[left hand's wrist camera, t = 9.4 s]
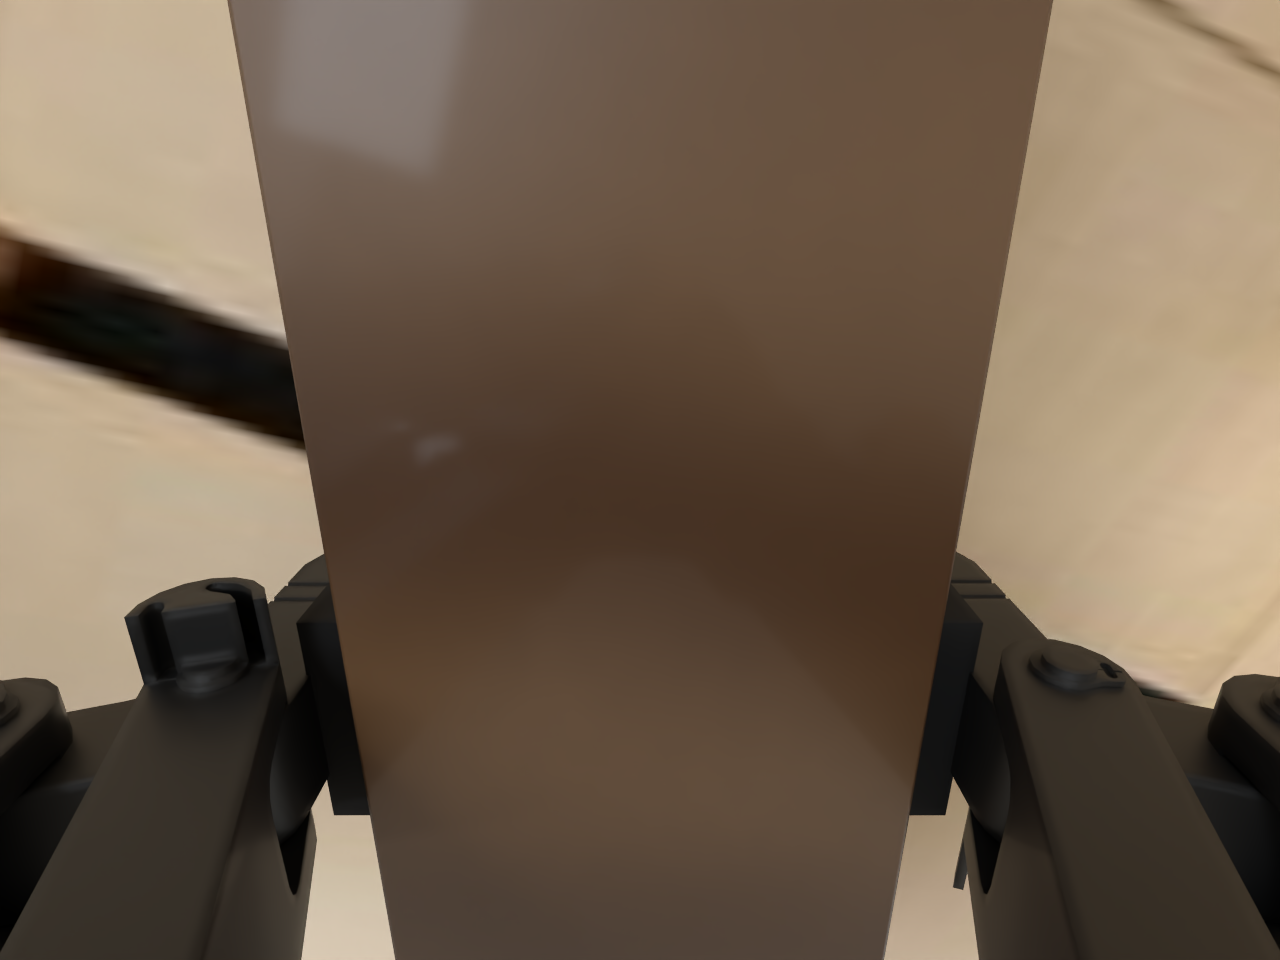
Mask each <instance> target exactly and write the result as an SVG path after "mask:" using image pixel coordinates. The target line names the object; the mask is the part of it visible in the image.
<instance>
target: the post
mask: <svg viewBox="0 0 1280 960" xmlns="http://www.w3.org/2000/svg"><path fill="white" fill-rule="evenodd" d="M1052 3H1053V0H228V6H229V12H230V18H231V23H232V29H233V35H234V40H235V46H236V52H237V58H238V63H239V69H240V75H241V80H242V86H243V92H244V98H245V103H246V109H247V115H248V120H249V126H250V132H251V138H252V143H253V149H254V155H255V160H256V166H257V172H258V177H259V183H260V189H261V195H262V200H263V206H264V212H265V217H266V223H267V229H268V235H269V240H270V246H271V252H272V257H273V263H274V269H275V275H276V280H277V286H278V292H279V297H280V303H281V309H282V315H283V320H284V326H285V332H286V337H287V343H288V349H289V355H290V360H291V366H292V372H293V377H294V383H295V389H296V394H297V400H298V406H299V412H300V417H301V423H302V429H303V434H304V440H305V446H306V452H307V457H308V463H309V469H310V474H311V480H312V486H313V492H314V497H315V503H316V509H317V514H318V520H319V526H320V532H321V537H322V543H323V549H324V554H325V560H326V566H327V571H328V577H329V583H330V589H331V594H332V600H333V606H334V611H335V617H336V623H337V629H338V634H339V640H340V646H341V651H342V657H343V663H344V669H345V674H346V680H347V686H348V691H349V697H350V703H351V709H352V714H353V720H354V726H355V731H356V737H357V743H358V749H359V754H360V760H361V766H362V771H363V777H364V783H365V788H366V794H367V800H368V806H369V811H370V817H371V823H372V828H373V834H374V840H375V846H376V851H377V857H378V863H379V868H380V874H381V880H382V886H383V891H384V897H385V903H386V908H387V914H388V920H389V926H390V931H391V937H392V943H393V948H394V954H395V960H884V956H885V950H886V945H887V939H888V933H889V928H890V922H891V916H892V911H893V905H894V899H895V894H896V888H897V882H898V877H899V871H900V865H901V860H902V854H903V848H904V843H905V837H906V831H907V826H908V820H909V814H910V809H911V803H912V797H913V792H914V786H915V780H916V774H917V769H918V763H919V757H920V752H921V746H922V740H923V735H924V729H925V723H926V718H927V712H928V706H929V701H930V695H931V689H932V684H933V678H934V672H935V667H936V661H937V655H938V650H939V644H940V638H941V633H942V627H943V621H944V616H945V610H946V604H947V599H948V593H949V587H950V582H951V576H952V570H953V565H954V559H955V553H956V548H957V542H958V536H959V531H960V525H961V519H962V514H963V508H964V502H965V497H966V491H967V485H968V480H969V474H970V468H971V463H972V457H973V451H974V446H975V440H976V434H977V429H978V423H979V417H980V412H981V406H982V400H983V394H984V389H985V383H986V377H987V372H988V366H989V360H990V355H991V349H992V343H993V338H994V332H995V326H996V321H997V315H998V309H999V304H1000V298H1001V292H1002V287H1003V281H1004V275H1005V270H1006V264H1007V258H1008V253H1009V247H1010V241H1011V236H1012V230H1013V224H1014V219H1015V213H1016V207H1017V202H1018V196H1019V190H1020V185H1021V179H1022V173H1023V168H1024V162H1025V156H1026V151H1027V145H1028V139H1029V134H1030V128H1031V122H1032V117H1033V111H1034V105H1035V100H1036V94H1037V88H1038V83H1039V77H1040V71H1041V66H1042V60H1043V54H1044V49H1045V43H1046V37H1047V32H1048V26H1049V20H1050V14H1051V9H1052Z"/></svg>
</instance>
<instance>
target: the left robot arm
mask: <svg viewBox="0 0 1280 960" xmlns="http://www.w3.org/2000/svg"><path fill="white" fill-rule="evenodd" d="M124 618H125V622H126V625H127V628H128V632H129V635H130V638H131V642H132V645H133V648H134V652H135V655H136V659H137V662H138V665H139V669H140V672H141V675H142V679H143V682H144V685H143V687H142V689H141V691H140V693H139V695H138V696H137V698H136V699H133V700H129V701H124V702H119V703H114V704H109V705H103V706H98V707H93V708H87V709H82V710H77V711H72V712H66V709H65V706H64V704H63V701H62V698H61V695H60V692H59V689H58V687H57V686H55V685H54V684H52V683H51V682H49V681H48V680H46V679H35V678H19V679H11V680H4V681H1V680H0V960H301V957H302V949H303V942H304V934H305V926H306V919H307V911H308V904H309V896H310V888H311V881H312V873H313V866H314V858H315V850H316V843H317V837H316V831H315V824H314V820H313V815H312V810H311V807H312V806H313V804H314V802H315V800H316V798H317V796H318V795H319V793H320V791H321V789H322V787H323V785H324V784H325V782H326V780H327V782H328V787H329V792H330V797H331V802H332V807H333V812H334V815H370V811H369V806H368V800H367V794H366V788H365V783H364V777H363V771H362V766H361V760H360V754H359V749H358V743H357V737H356V731H355V726H354V720H353V714H352V709H351V703H350V697H349V691H348V686H347V680H346V674H345V669H344V663H343V657H342V651H341V646H340V640H339V634H338V629H337V623H336V617H335V611H334V606H333V600H332V594H331V589H330V583H329V577H328V571H327V566H326V560H325V554H323V555H321V556H319V557H318V558H316V559H314V560H312V561H311V562H309V563H307V564H305V565H304V566H303V567H302V568H301V569H300V571H299V572H298V573H297V574H296V575H295V576H294V577H293V578H292V579H291V580H290V581H289V582H288V586H285V587H284V588H283V589H282V590H281V591H280V592H279V593H278V594H277V595H276V596H275V597H274V601H271V602H270V603H269V604H268V603H267V599H266V594H265V589H264V587H263V586H261V585H260V584H258V583H257V582H255V581H253V580H248V579H242V578H236V577H232V578H212V579H206V580H202V581H197V582H192V583H187V584H183V585H180V586H177V587H175V588H172V589H169V590H166V591H163V592H160V593H158V594H156V595H155V596H153V597H151V598H149V599H147V600H145V601H144V602H142V603H140V604H138V605H137V606H136V607H135V608H134V609H133V610H132V611H131V612H130V613H129V614H127V615H126V616H125V617H124ZM953 777H954V779H955V781H956V783H957V785H958V787H959V788H960V790H961V792H962V794H963V796H964V797H965V799H966V801H967V803H968V805H969V810H968V815H967V820H966V824H965V829H964V834H963V839H962V843H961V848H960V853H959V857H958V862H957V867H956V872H955V878H954V884H953V887H954V888H958V889H962V890H963V888H964V884H965V879H966V875H967V874H968V879H969V887H970V894H971V902H972V909H973V917H974V924H975V932H976V940H977V947H978V955H979V960H1280V677H1273V676H1266V675H1258V674H1251V675H1240V676H1233V677H1232V678H1230V679H1229V680H1227V681H1226V682H1224V683H1223V684H1222V687H1221V690H1220V693H1219V695H1218V698H1217V701H1216V704H1215V707H1214V709H1210V708H1205V707H1200V706H1194V705H1189V704H1184V703H1178V702H1173V701H1168V700H1162V699H1157V698H1152V697H1148V696H1144V695H1142V693H1141V691H1140V690H1139V688H1138V686H1137V684H1136V683H1135V681H1134V680H1133V679H1132V678H1131V677H1130V676H1129V674H1128V673H1127V672H1126V671H1125V670H1124V669H1123V668H1122V667H1120V666H1118V665H1117V664H1115V663H1114V662H1112V661H1111V660H1109V659H1108V658H1106V657H1105V656H1103V655H1100V654H1098V653H1096V652H1093V651H1091V650H1088V649H1086V648H1084V647H1081V646H1078V645H1074V644H1070V643H1066V642H1062V641H1057V640H1051V639H1047V638H1046V637H1045V636H1044V635H1043V634H1042V633H1041V632H1040V631H1039V630H1038V629H1037V628H1036V627H1035V626H1034V625H1033V624H1032V622H1031V621H1030V620H1029V619H1028V618H1027V617H1026V616H1025V615H1024V614H1023V613H1022V612H1021V611H1020V610H1019V609H1018V608H1017V607H1016V605H1015V604H1014V603H1013V602H1012V601H1011V600H1010V599H1006V597H1005V594H1004V593H1003V592H1002V591H1001V590H1000V588H999V587H998V586H997V585H996V584H995V583H992V582H991V579H990V578H989V577H988V576H987V575H986V574H985V573H984V571H983V570H982V569H981V568H980V567H979V566H978V565H977V564H976V563H975V562H974V561H972V560H970V559H968V558H966V557H965V556H963V555H961V554H959V553H957V552H956V553H955V559H954V565H953V570H952V576H951V582H950V587H949V593H948V599H947V604H946V610H945V616H944V621H943V627H942V633H941V638H940V644H939V650H938V655H937V661H936V667H935V672H934V678H933V684H932V689H931V695H930V701H929V706H928V712H927V718H926V723H925V729H924V735H923V740H922V746H921V752H920V757H919V763H918V769H917V774H916V780H915V786H914V792H913V797H912V803H911V809H910V814H909V815H945V814H946V809H947V804H948V799H949V794H950V789H951V784H952V779H953Z"/></svg>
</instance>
